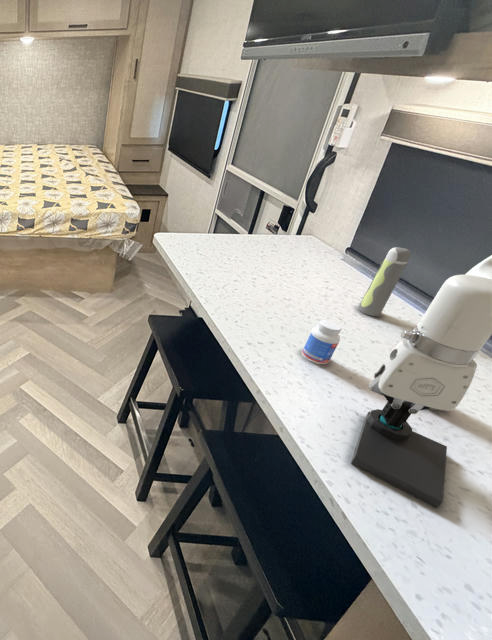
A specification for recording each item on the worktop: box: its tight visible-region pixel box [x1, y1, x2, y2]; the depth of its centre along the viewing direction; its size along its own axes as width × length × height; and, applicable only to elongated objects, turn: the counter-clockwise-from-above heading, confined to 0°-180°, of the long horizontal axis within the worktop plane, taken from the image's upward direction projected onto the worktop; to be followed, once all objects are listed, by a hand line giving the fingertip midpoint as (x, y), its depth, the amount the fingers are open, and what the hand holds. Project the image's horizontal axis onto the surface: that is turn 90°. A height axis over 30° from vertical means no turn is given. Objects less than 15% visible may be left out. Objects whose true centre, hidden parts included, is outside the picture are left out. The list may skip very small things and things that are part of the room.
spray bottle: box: [357, 246, 411, 317], centre depth 108 cm, size 5×5×20 cm
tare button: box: [379, 416, 402, 430], centre depth 76 cm, size 3×3×2 cm
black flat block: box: [350, 408, 448, 510], centre depth 72 cm, size 15×11×4 cm
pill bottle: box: [301, 319, 342, 365], centre depth 94 cm, size 6×5×10 cm
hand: (390, 420), depth 75 cm, fingers closed
